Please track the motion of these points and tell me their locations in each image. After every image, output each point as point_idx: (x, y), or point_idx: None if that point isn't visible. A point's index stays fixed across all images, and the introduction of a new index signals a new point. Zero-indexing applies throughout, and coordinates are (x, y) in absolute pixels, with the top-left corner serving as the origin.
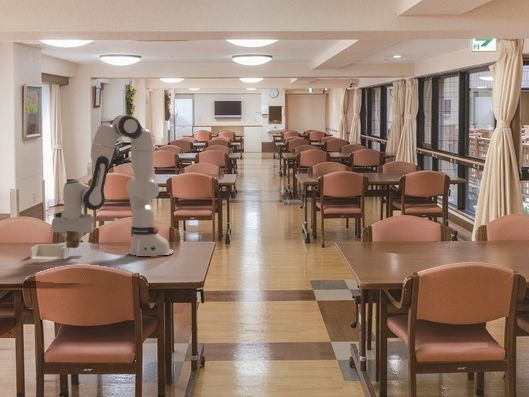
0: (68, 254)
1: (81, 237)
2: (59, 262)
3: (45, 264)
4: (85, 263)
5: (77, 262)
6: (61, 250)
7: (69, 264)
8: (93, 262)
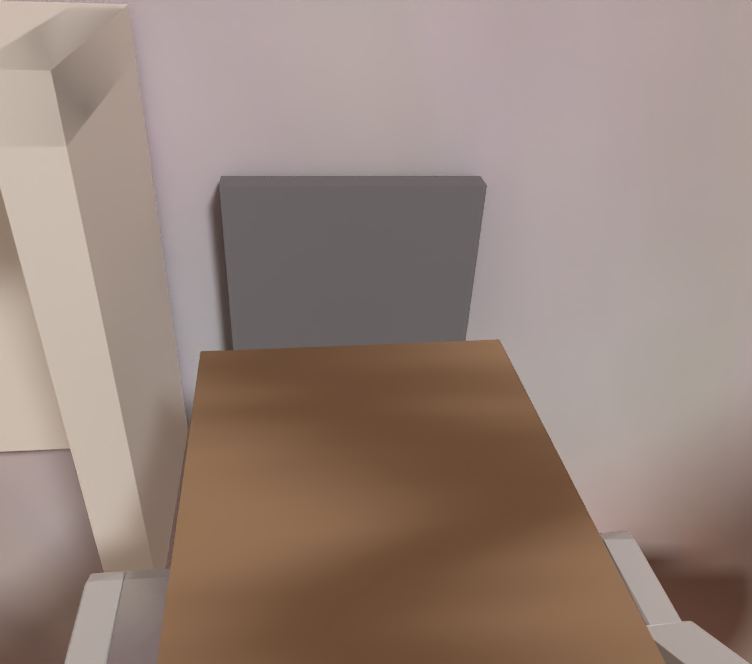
0: (129, 68)
1: (701, 646)
2: None
3: (62, 634)
4: None
5: None
6: None
7: None
8: (687, 483)
